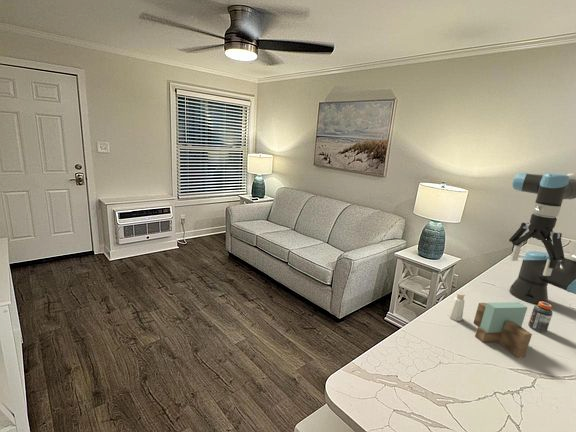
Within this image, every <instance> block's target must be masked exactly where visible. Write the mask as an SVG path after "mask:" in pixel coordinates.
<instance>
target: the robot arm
mask: <svg viewBox="0 0 576 432" xmlns="http://www.w3.org/2000/svg"><path fill="white" fill-rule="evenodd" d="M511 185H512V188H513V189H514V190H516V191H517V192H518V191H519V192H522V193H523V192H524V193H528V194H529V193H530V194H536V195H537V196H536V199H535V202H534V206H533V207H532V208H533V209H532V214H531V215H530V219H529V222H522V223H521V224H520V226H519V228H518V229H517V230H516V231H515V232H514V234H513V235H512V236H510V238H509V239H508V242H510V243H512V249H511V252H512V253H511V256H510V261H511V262H518V260H519V257H520V253H521V249H522V244H523V243H524V242H527V241H528V240H529V239H531V238H533V239H536V240H538V241H541V243H543V246H544V248H545V250H546V252H544V251H536V250H530V251H526V252H525V254H524V256H523V258H522V262H521V265H520V270H519V272H518V276H517V278H516V279H515V281H514V282H513V283H512V284H511V286H510V287H509V290H508V291H509V293H510V294H511V295H512V296H514V297H515V298H517V299H519V300H522V301H525V302H527V303H531V304H537V305H538V303H539V302H540V301H542V302H546V303H548V300H549V295H548V293H549V292H548V285H551V286H553V287H556V288H558V289H561V290H564V291H566V292H568V293H572V294H575V295H576V243H575V244H574V246H573V248H572V249H571V252H570V253H569V255H566V256H565V253H564V248H563V244H562V235H563V234H562V232H554V228H555V226H556V224H557V220H558V219H557V217H559V216H560V210H561V206H562V203H563V201H564V200H573V199H574V200H575V199H576V173H575V172H573V173H567V174H562V173H550V172H547V173H544V174H535V173H534V174H532V173H526V172H525V173H524V172H519V173H517V174H516V175H515V176H514V177H513V179H512V183H511ZM527 230H528V231H527ZM526 231H527V232H526ZM525 232H526V233H525ZM524 233H525V234H524Z"/></svg>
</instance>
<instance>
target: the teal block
mask: <svg viewBox="0 0 576 432" xmlns="http://www.w3.org/2000/svg"><path fill="white" fill-rule="evenodd" d="M486 303H487V304H486V308H485V311H484V315H483V318H482V322H481V325H480V327H481V328H482V329H483V330H485V331H486V332H487V333H492V332H502V331H503V328H504V325H505V321H513V322H515V323H516V324H518V325H519V326H521V327H522V326H523V324H524V320H525V316H526V313H527V310H528V306H527V305H524V304H523V303H521V302H519V301H513V302H512V301H511V302H510V301H509V302H486Z"/></svg>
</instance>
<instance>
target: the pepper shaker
mask: <svg viewBox="0 0 576 432" xmlns="http://www.w3.org/2000/svg"><path fill="white" fill-rule="evenodd" d="M464 298H465V293H463V292H461V291H457V292H456V295H455V297H454V298H453V301H452V303H451V305H450V308H449V310H448V313H447V317H448V318H449V319H450V320H453V321H455V322H461V321H462V320H463V314H464V308H465V307H464V306H465V299H464Z"/></svg>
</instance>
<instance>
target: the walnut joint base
mask: <svg viewBox="0 0 576 432" xmlns="http://www.w3.org/2000/svg"><path fill="white" fill-rule="evenodd" d="M487 303H488V302H478V305H477V309H476V313H475V316H474V320H473V324H475V326H476V327H477V328H476V332H475V335H474V337H475V338H476V339H478V340H479V341H480V342H481V343H496V342H497V343H498V344H500V345H501V346H502V347H503V348H504V349H506V350H508V352H509V353H511V354H512V355H514V356H515V357H516V358H525V356H526V354H527V352H528V348H529V344H530V341H531V339H532V336H533V334H532V333H531V332H530V331H528V330H527V329H526V328H524V327H522V326H519V325H518V324H516V323H515V322H513V321H505V325H504V328H503V331H502V332H492V333H487V332H486V331H485V330H483V329H482V328H481V327H480V325H481V322H482V318H483V315H484V311H485V308H486V304H487Z"/></svg>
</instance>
